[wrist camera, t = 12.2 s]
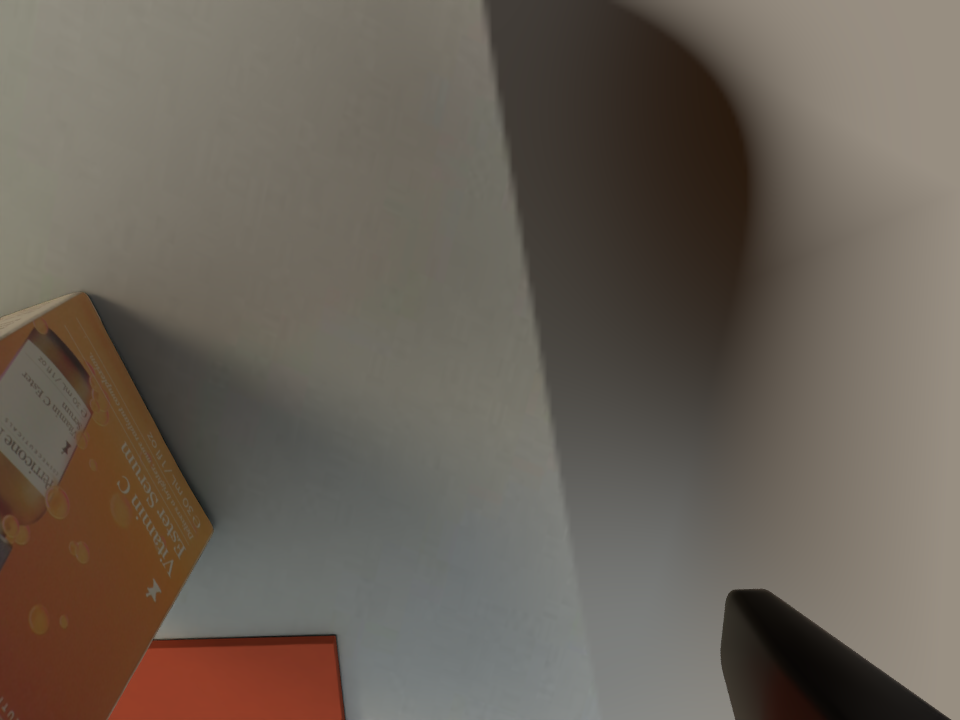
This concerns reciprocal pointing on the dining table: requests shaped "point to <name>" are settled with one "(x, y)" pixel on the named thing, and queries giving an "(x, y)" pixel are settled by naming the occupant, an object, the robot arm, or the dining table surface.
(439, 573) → the dining table surface
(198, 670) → the tea towel
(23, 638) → the small box
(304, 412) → the dining table surface
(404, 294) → the dining table surface
